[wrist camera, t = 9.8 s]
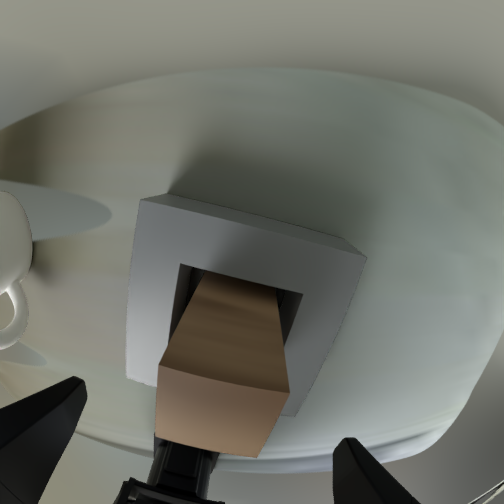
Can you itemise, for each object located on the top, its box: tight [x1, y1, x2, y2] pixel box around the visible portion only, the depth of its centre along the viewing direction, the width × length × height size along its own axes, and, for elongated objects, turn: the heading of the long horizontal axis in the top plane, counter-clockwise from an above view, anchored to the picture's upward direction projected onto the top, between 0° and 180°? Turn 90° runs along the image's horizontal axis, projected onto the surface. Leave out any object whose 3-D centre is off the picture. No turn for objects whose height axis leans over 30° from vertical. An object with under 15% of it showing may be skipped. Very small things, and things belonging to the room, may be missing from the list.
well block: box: [126, 194, 367, 417], centre depth 16 cm, size 11×11×4 cm
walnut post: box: [155, 270, 290, 458], centre depth 13 cm, size 4×4×10 cm
